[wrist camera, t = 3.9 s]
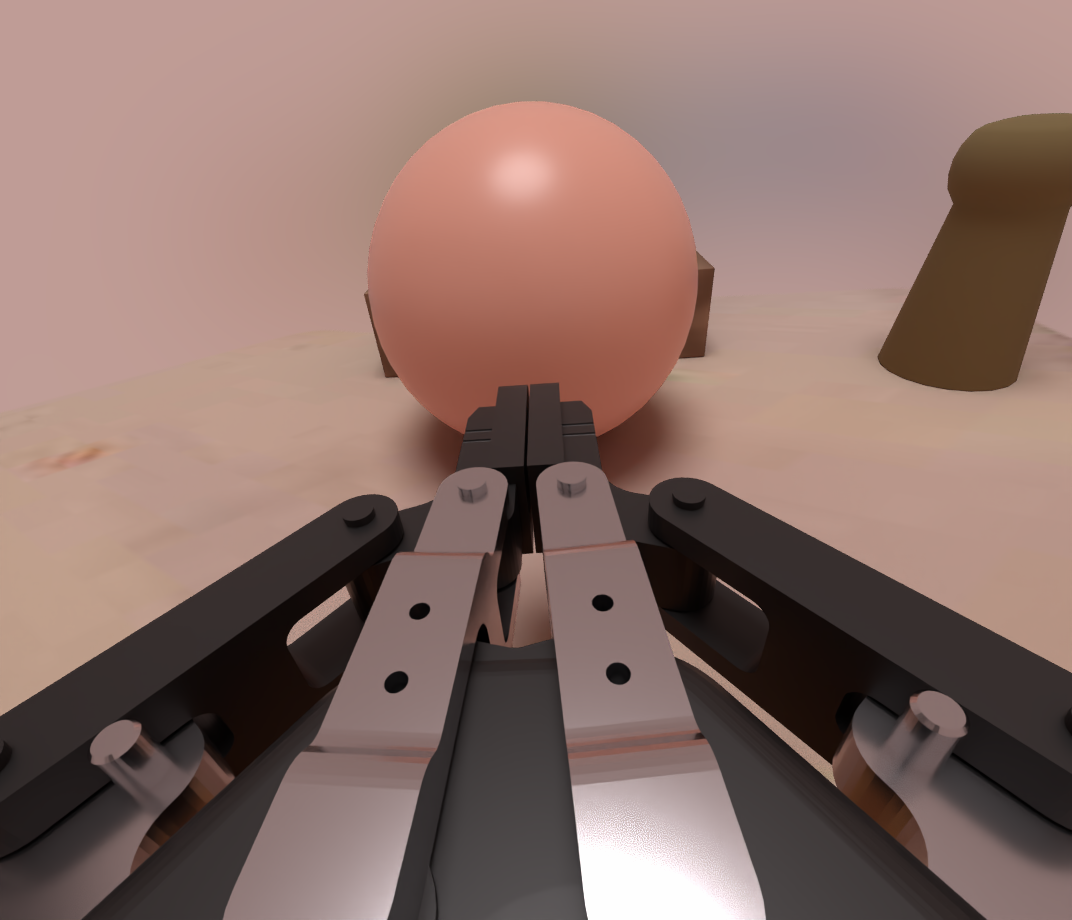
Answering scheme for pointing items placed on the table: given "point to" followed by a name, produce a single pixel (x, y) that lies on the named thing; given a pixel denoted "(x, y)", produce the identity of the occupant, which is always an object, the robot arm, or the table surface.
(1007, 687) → the robot arm
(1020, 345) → the cork
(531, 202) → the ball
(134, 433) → the table surface
